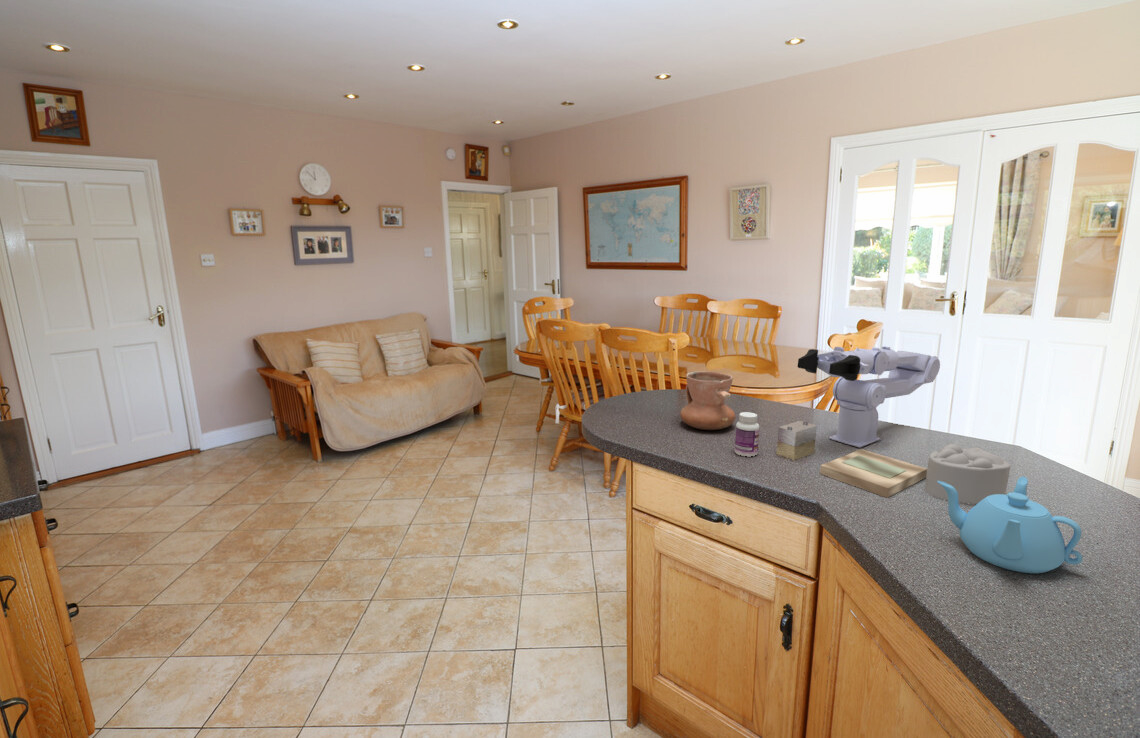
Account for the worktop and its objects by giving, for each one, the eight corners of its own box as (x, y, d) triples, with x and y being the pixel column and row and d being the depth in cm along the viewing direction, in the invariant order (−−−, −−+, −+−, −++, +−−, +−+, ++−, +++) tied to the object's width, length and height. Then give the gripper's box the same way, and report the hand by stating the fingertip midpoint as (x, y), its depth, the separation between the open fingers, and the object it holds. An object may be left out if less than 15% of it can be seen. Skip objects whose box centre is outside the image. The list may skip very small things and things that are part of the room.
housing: (797, 447, 133) (799, 419, 131) (814, 453, 129) (816, 424, 128) (776, 454, 129) (778, 425, 127) (793, 460, 125) (795, 431, 123)
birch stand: (860, 457, 126) (861, 448, 126) (926, 477, 115) (927, 467, 114) (820, 473, 117) (820, 464, 117) (886, 497, 106) (888, 487, 106)
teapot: (1097, 581, 79) (1112, 517, 77) (997, 585, 79) (1008, 520, 77) (1013, 530, 94) (1024, 474, 91) (928, 533, 93) (936, 477, 91)
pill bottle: (759, 458, 127) (761, 418, 124) (735, 456, 128) (737, 417, 125) (756, 449, 132) (758, 411, 130) (733, 448, 133) (735, 410, 131)
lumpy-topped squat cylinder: (1013, 503, 103) (1021, 460, 101) (948, 506, 102) (954, 463, 101) (970, 480, 113) (977, 440, 111) (910, 482, 113) (915, 443, 111)
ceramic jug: (749, 432, 144) (752, 379, 141) (701, 438, 139) (703, 384, 137) (709, 414, 161) (711, 366, 158) (666, 419, 156) (667, 370, 153)
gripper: (821, 342, 134) (788, 343, 127) (882, 351, 122) (849, 353, 115) (818, 370, 136) (784, 373, 128) (877, 381, 124) (844, 385, 116)
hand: (814, 366), depth 122 cm, fingers open, 7 cm apart
